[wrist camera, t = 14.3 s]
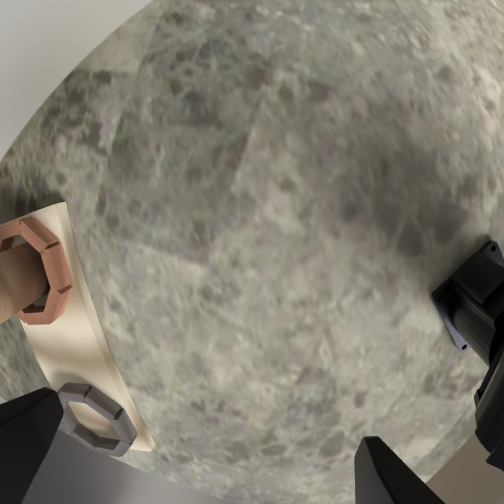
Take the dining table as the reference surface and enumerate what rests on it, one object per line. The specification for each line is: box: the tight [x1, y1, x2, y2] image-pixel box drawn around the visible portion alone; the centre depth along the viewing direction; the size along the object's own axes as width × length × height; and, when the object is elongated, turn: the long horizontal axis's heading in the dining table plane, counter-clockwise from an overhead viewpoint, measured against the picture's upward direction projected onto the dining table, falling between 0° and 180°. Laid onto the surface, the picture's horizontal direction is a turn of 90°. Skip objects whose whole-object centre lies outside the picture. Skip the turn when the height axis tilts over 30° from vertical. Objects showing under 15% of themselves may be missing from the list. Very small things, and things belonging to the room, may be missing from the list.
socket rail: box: [0, 202, 155, 457], centre depth 22 cm, size 23×9×3 cm, turn 10°
